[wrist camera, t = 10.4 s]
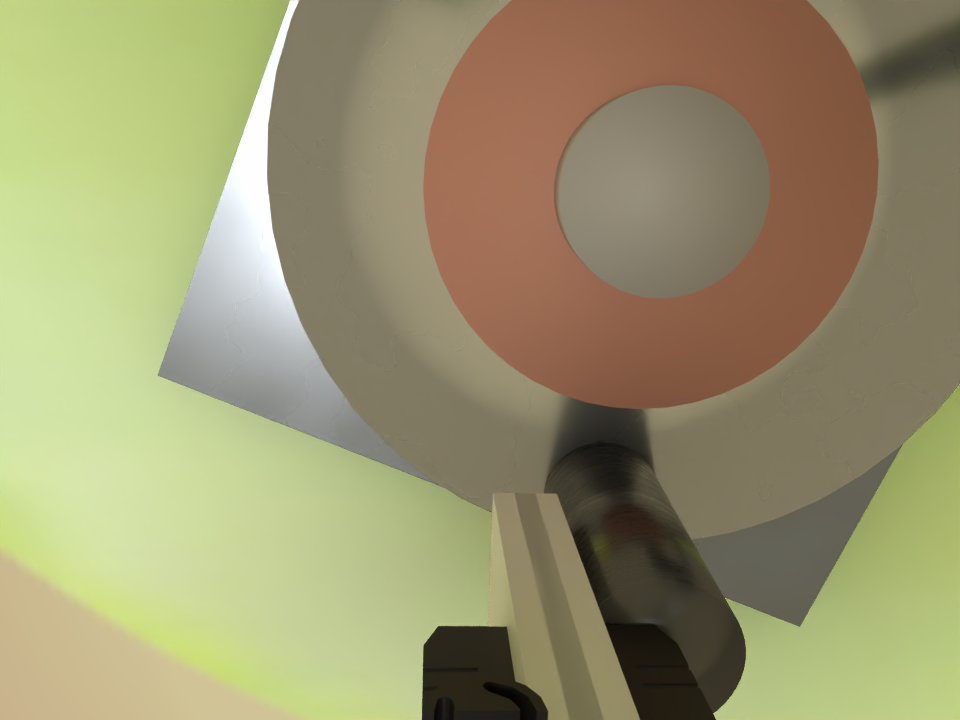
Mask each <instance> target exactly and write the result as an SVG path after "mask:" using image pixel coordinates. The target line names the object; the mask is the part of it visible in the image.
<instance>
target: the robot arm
mask: <svg viewBox="0 0 960 720" xmlns="http://www.w3.org/2000/svg"><path fill="white" fill-rule="evenodd" d="M422 720H716V719H715V717H714V715H713V713H712V711H711V709H710V707H709V705H708V703H707V701H706V699H705V697H704V695H703V693H702V691H701V689H700V688H698V683H697V681H696V679H695V677H694V675H693V673H692V671H691V670H689V665H688V663H687V661H686V659H685V657H684V655H683V653H682V651H681V649H680V647H679V645H678V643H676V642H675V641H674V640H673V639H671V638H670V637H669V636H668V635H666V634H665V633H664V632H663V631H661V630H660V629H659V628H658V627H657V626H655V625H605V623H604V620H603V618H602V615H601V612H600V610H599V607H598V604H597V602H596V599H595V596H594V593H593V591H592V588H591V585H590V583H589V580H588V577H587V574H586V572H585V569H584V566H583V564H582V561H581V558H580V555H579V553H578V550H577V547H576V545H575V542H574V539H573V536H572V534H571V531H570V528H569V526H568V523H567V520H566V517H565V515H564V512H563V509H562V507H561V504H560V501H559V499H558V496H557V494H545V493H493V505H492V531H491V557H490V583H489V609H488V626H438V627H437V629H436V630H435V631H434V633H433V634H432V635H431V636H430V638H429V639H428V640H427V642H426V643H425V644H424V651H423V698H422Z"/></svg>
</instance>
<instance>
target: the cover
mask: <svg viewBox="0 0 960 720" xmlns="http://www.w3.org/2000/svg"><path fill="white" fill-rule="evenodd" d="M878 167H879V159H878V147H877V134H876V128H875V124H874V119H873V114H872V110H871V105H870V101H869V98H868V96H867V93H866V90H865V87H864V84H863V82H862V79H861V76H860V73H859V72H858V70H857V68H856V66H855V64H854V62H853V60H852V58H851V56H850V54H849V52H848V51H847V49H846V47H845V45H844V44H843V43H842V41H841V40H840V38H839V37H838V36H837V34H836V33H835V31H834V30H833V29H832V27H831V26H830V24H829V23H828V22H827V21H826V20H825V19H824V17H823V16H822V15H821V14H820V13H819V12H818V11H817V10H816V9H815V8H814V7H813V6H812V5H811V4H810V3H809V2H808V1H807V0H511V1H510V2H509V3H508V4H507V5H506V6H505V7H504V8H502V9H501V10H500V11H499V12H498V13H497V14H496V15H495V16H494V17H493V18H492V19H491V20H490V21H489V22H488V23H487V25H486V26H485V27H484V28H483V29H482V30H481V32H480V33H479V34H478V35H477V36H476V38H475V39H474V40H473V41H472V42H471V44H470V45H469V47H468V48H467V50H466V52H465V53H464V55H463V56H462V58H461V59H460V61H459V62H458V64H457V66H456V67H455V69H454V71H453V73H452V75H451V77H450V79H449V81H448V83H447V85H446V87H445V90H444V92H443V94H442V96H441V98H440V101H439V104H438V107H437V110H436V113H435V116H434V119H433V122H432V126H431V129H430V134H429V140H428V145H427V150H426V156H425V166H424V183H423V193H424V208H425V220H426V225H427V230H428V235H429V240H430V245H431V249H432V252H433V255H434V258H435V261H436V264H437V267H438V270H439V272H440V275H441V278H442V280H443V282H444V284H445V286H446V288H447V290H448V292H449V294H450V296H451V298H452V300H453V302H454V303H455V305H456V306H457V308H458V309H459V311H460V312H461V314H462V315H463V317H464V318H465V320H466V321H467V323H468V324H469V326H470V327H471V328H472V329H473V330H474V331H475V332H476V334H477V335H478V336H479V337H480V338H481V339H482V340H483V342H484V343H485V344H486V345H487V346H488V347H489V348H490V349H491V350H492V351H494V352H495V353H496V354H497V355H498V356H499V357H500V358H502V359H503V360H504V361H505V362H506V363H507V364H508V365H510V366H511V367H513V368H514V369H516V370H517V371H519V372H520V373H522V374H523V375H525V376H526V377H528V378H529V379H531V380H532V381H534V382H536V383H538V384H540V385H542V386H544V387H547V388H549V389H551V390H553V391H555V392H557V393H559V394H562V395H565V396H568V397H571V398H574V399H577V400H580V401H583V402H587V403H593V404H598V405H603V406H608V407H615V408H630V409H650V408H667V407H673V406H678V405H684V404H689V403H694V402H698V401H701V400H704V399H707V398H711V397H714V396H717V395H720V394H723V393H725V392H727V391H730V390H732V389H734V388H736V387H738V386H741V385H743V384H745V383H747V382H749V381H751V380H752V379H754V378H756V377H757V376H759V375H761V374H762V373H764V372H766V371H767V370H769V369H770V368H772V367H774V366H775V365H776V364H777V363H779V362H780V361H781V360H782V359H784V358H785V357H786V356H788V355H789V354H790V353H791V352H793V351H794V350H795V349H796V348H797V347H798V346H799V345H800V344H801V343H802V342H803V341H804V340H805V339H806V338H807V337H808V336H809V335H810V334H811V333H812V332H813V331H814V330H815V329H816V328H817V327H818V326H819V325H820V323H821V322H822V321H823V319H824V318H825V317H826V316H827V314H828V313H829V312H830V311H831V309H832V308H833V307H834V305H835V304H836V302H837V301H838V299H839V297H840V296H841V294H842V292H843V291H844V289H845V287H846V286H847V284H848V283H849V281H850V279H851V277H852V275H853V273H854V270H855V268H856V266H857V264H858V262H859V259H860V257H861V255H862V253H863V250H864V247H865V243H866V240H867V237H868V234H869V231H870V227H871V224H872V220H873V214H874V208H875V203H876V197H877V188H878Z"/></svg>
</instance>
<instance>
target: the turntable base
mask: <svg viewBox="0 0 960 720" xmlns="http://www.w3.org/2000/svg"><path fill="white" fill-rule="evenodd" d="M298 2H299V0H290V3H289V5H288V8H287V11H286V14H285V17H284V20H283V22H282V25H281V28H280V31H279V34H278V36H277V39H276V42H275V45H274V48H273V51H272V53H271V56H270V59H269V62H268V65H267V68H266V70H265V73H264V76H263V79H262V82H261V85H260V87H259V90H258V93H257V96H256V99H255V102H254V104H253V107H252V110H251V113H250V116H249V119H248V121H247V124H246V127H245V130H244V133H243V136H242V138H241V141H240V144H239V147H238V150H237V153H236V155H235V158H234V161H233V164H232V167H231V169H230V172H229V175H228V178H227V181H226V184H225V186H224V189H223V192H222V195H221V198H220V201H219V203H218V206H217V209H216V212H215V215H214V218H213V220H212V223H211V226H210V229H209V232H208V235H207V237H206V240H205V243H204V246H203V249H202V252H201V254H200V257H199V260H198V263H197V266H196V269H195V271H194V274H193V277H192V280H191V283H190V286H189V288H188V291H187V294H186V297H185V300H184V303H183V305H182V308H181V311H180V314H179V317H178V319H177V322H176V325H175V328H174V331H173V334H172V336H171V339H170V342H169V345H168V348H167V351H166V353H165V356H164V359H163V362H162V365H161V368H160V370H159V373H158V376H160V377H163V378H165V379H168V380H171V381H173V382H176V383H178V384H181V385H183V386H186V387H188V388H191V389H194V390H196V391H199V392H201V393H204V394H206V395H209V396H211V397H214V398H217V399H219V400H222V401H224V402H227V403H229V404H232V405H234V406H237V407H240V408H242V409H245V410H247V411H250V412H252V413H255V414H257V415H260V416H263V417H265V418H268V419H270V420H273V421H275V422H278V423H280V424H283V425H286V426H288V427H291V428H293V429H296V430H298V431H301V432H303V433H306V434H309V435H311V436H314V437H316V438H319V439H321V440H324V441H326V442H329V443H332V444H334V445H337V446H339V447H342V448H344V449H347V450H349V451H352V452H355V453H357V454H360V455H362V456H365V457H367V458H370V459H372V460H375V461H378V462H380V463H383V464H385V465H388V466H390V467H393V468H395V469H398V470H401V471H403V472H406V473H408V474H411V475H413V476H416V477H418V478H421V479H424V480H426V481H429V482H431V483H434V484H436V485H439V486H441V485H440V484H438V483H437V482H435V481H433V480H432V479H430V478H429V477H427V476H425V475H424V474H422V473H421V472H420V471H419V470H417V469H416V468H415V467H414V466H413V465H411V464H410V463H409V462H408V461H407V460H405V459H404V458H403V457H402V456H401V455H399V454H398V453H397V452H396V451H394V450H393V449H392V448H391V447H390V446H388V445H387V444H386V443H385V442H384V441H383V440H382V439H381V438H380V436H379V435H378V434H377V433H376V432H375V431H374V430H373V429H372V428H371V427H370V426H369V425H368V424H367V423H366V422H365V420H364V419H363V418H362V417H361V416H360V415H359V414H358V413H357V412H356V411H355V410H354V409H353V407H352V406H351V404H350V403H349V402H348V400H347V399H346V397H345V396H344V395H343V393H342V392H341V390H340V389H339V388H338V386H337V385H336V384H335V382H334V381H333V379H332V378H331V377H330V375H329V374H328V372H327V371H326V370H325V368H324V366H323V364H322V362H321V360H320V358H319V357H318V355H317V353H316V351H315V349H314V347H313V345H312V344H311V342H310V340H309V338H308V336H307V334H306V332H305V331H304V329H303V327H302V324H301V322H300V319H299V317H298V314H297V311H296V309H295V306H294V304H293V301H292V298H291V296H290V293H289V291H288V288H287V285H286V283H285V280H284V276H283V272H282V268H281V264H280V259H279V255H278V251H277V247H276V243H275V239H274V235H273V230H272V221H271V212H270V203H269V194H268V185H267V145H268V121H269V115H270V108H271V101H272V95H273V88H274V81H275V75H276V70H277V66H278V63H279V59H280V56H281V52H282V49H283V45H284V42H285V38H286V35H287V31H288V28H289V24H290V21H291V18H292V15H293V13H294V11H295V8H296V6H297V4H298ZM901 446H902V445H901ZM901 446H900V447H898V448H897V449H896V450H895V451H893V452H892V453H891V454H889V455H888V456H887V457H885V458H884V459H883V460H881V461H880V462H879V463H877V464H876V465H875V466H873V467H872V468H871V469H869V470H868V471H867V472H865V473H864V474H863V475H861V476H860V477H858V478H856V479H854V480H853V481H851V482H849V483H848V484H846V485H844V486H842V487H841V488H839V489H837V490H836V491H834V492H832V493H831V494H829V495H827V496H825V497H824V498H822V499H820V500H818V501H816V502H814V503H811V504H809V505H807V506H805V507H802V508H800V509H798V510H795V511H793V512H791V513H789V514H786V515H784V516H782V517H779V518H777V519H774V520H771V521H768V522H764V523H761V524H758V525H755V526H751V527H748V528H745V529H741V530H738V531H735V532H732V533H726V534H721V535H715V536H710V537H704V538H698V539H693V540H692V541H693V543H694V545H695V546H696V548H697V550H698V552H699V554H700V555H701V557H702V559H703V561H704V562H705V564H706V566H707V568H708V569H709V571H710V573H711V575H712V576H713V578H714V580H715V582H716V584H717V585H718V587H719V589H720V591H721V592H722V594H723V596H724V597H725V598H728V599H730V600H733V601H735V602H738V603H741V604H743V605H746V606H748V607H751V608H753V609H756V610H758V611H761V612H764V613H766V614H769V615H771V616H774V617H776V618H779V619H781V620H784V621H787V622H789V623H792V624H794V625H797V626H799V627H800V625H801V624H802V622H803V620H804V618H805V617H806V615H807V613H808V611H809V609H810V608H811V606H812V604H813V602H814V601H815V599H816V597H817V595H818V593H819V592H820V590H821V588H822V586H823V585H824V583H825V581H826V579H827V577H828V576H829V574H830V572H831V570H832V569H833V567H834V565H835V563H836V562H837V560H838V558H839V556H840V554H841V553H842V551H843V549H844V547H845V546H846V544H847V542H848V540H849V538H850V537H851V535H852V533H853V531H854V530H855V528H856V526H857V524H858V522H859V521H860V519H861V517H862V515H863V514H864V512H865V510H866V508H867V507H868V505H869V503H870V501H871V499H872V498H873V496H874V494H875V492H876V491H877V489H878V487H879V485H880V483H881V482H882V480H883V478H884V476H885V475H886V473H887V471H888V469H889V467H890V466H891V464H892V462H893V460H894V459H895V457H896V455H897V453H898V452H899V450H900V448H901ZM441 487H443V486H441Z"/></svg>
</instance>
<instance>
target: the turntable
mask: <svg viewBox="0 0 960 720" xmlns="http://www.w3.org/2000/svg"><path fill="white" fill-rule="evenodd" d="M510 1H511V0H299V2H298V4H297V6H296V8H295V11H294V13H293V15H292V18H291V21H290V24H289V28H288V31H287V35H286V38H285V42H284V45H283V49H282V52H281V56H280V59H279V63H278V66H277V70H276V75H275V81H274V88H273V95H272V101H271V108H270V115H269V121H268V145H267V185H268V194H269V203H270V212H271V221H272V230H273V235H274V239H275V243H276V247H277V251H278V255H279V259H280V264H281V268H282V272H283V276H284V280H285V283H286V285H287V288H288V291H289V293H290V296H291V298H292V301H293V304H294V306H295V309H296V311H297V314H298V317H299V319H300V322H301V324H302V327H303V329H304V331H305V332H306V334H307V336H308V338H309V340H310V342H311V344H312V345H313V347H314V349H315V351H316V353H317V355H318V357H319V358H320V360H321V362H322V364H323V366H324V368H325V370H326V371H327V372H328V374H329V375H330V377H331V378H332V379H333V381H334V382H335V384H336V385H337V386H338V388H339V389H340V390H341V392H342V393H343V395H344V396H345V397H346V399H347V400H348V402H349V403H350V404H351V406H352V407H353V409H354V410H355V411H356V412H357V413H358V414H359V415H360V416H361V417H362V418H363V419H364V420H365V422H366V423H367V424H368V425H369V426H370V427H371V428H372V429H373V430H374V431H375V432H376V433H377V434H378V435H379V436H380V438H381V439H382V440H383V441H384V442H385V443H386V444H387V445H388V446H390V447H391V448H392V449H393V450H394V451H396V452H397V453H398V454H399V455H401V456H402V457H403V458H404V459H405V460H407V461H408V462H409V463H410V464H411V465H413V466H414V467H415V468H416V469H417V470H419V471H420V472H421V473H422V474H424V475H425V476H427V477H429V478H430V479H432V480H433V481H435V482H437V483H438V484H440V485H441V486H443V487H444V488H446V489H448V490H449V491H451V492H452V493H454V494H456V495H457V496H459V497H460V498H462V499H464V500H466V501H468V502H470V503H473V504H475V505H477V506H479V507H481V508H483V509H485V510H488V511H490V512H492V505H493V493H545V494H557V496H558V499H559V501H560V504H561V507H562V509H563V512H564V515H565V517H566V520H567V523H568V526H569V528H570V531H571V534H572V536H573V539H574V542H575V545H576V547H577V550H578V553H579V555H580V558H581V561H582V564H583V566H584V569H585V572H586V574H587V577H588V580H589V583H590V585H591V588H592V591H593V593H594V596H595V599H596V602H597V604H598V607H599V610H600V612H601V615H602V618H603V620H604V623H605V625H655V626H657V627H658V628H659V629H660V630H661V631H663V632H664V633H665V634H666V635H668V636H669V637H670V638H671V639H673V640H674V641H675V642H676V643H678V645H679V647H680V649H681V651H682V653H683V655H684V657H685V659H686V661H687V663H688V665H689V670H691V671H692V673H693V675H694V677H695V679H696V681H697V683H698V688H700V689H701V691H702V693H703V695H704V697H705V699H706V701H707V703H708V705H709V707H710V709H711V711H712V713H714V712H716V711H717V710H718V709H719V708H720V707H721V706H722V705H723V704H724V703H725V702H726V701H727V700H728V699H729V698H730V696H731V695H732V694H733V692H734V690H735V689H736V687H737V685H738V683H739V681H740V679H741V676H742V673H743V670H744V665H745V659H746V647H745V639H744V636H743V632H742V629H741V627H740V625H739V623H738V621H737V619H736V617H735V615H734V614H733V612H732V610H731V608H730V607H729V605H728V603H727V601H726V599H725V598H724V596H723V594H722V592H721V591H720V589H719V587H718V585H717V584H716V582H715V580H714V578H713V576H712V575H711V573H710V571H709V569H708V568H707V566H706V564H705V562H704V561H703V559H702V557H701V555H700V554H699V552H698V550H697V548H696V546H695V545H694V543H693V541H692V540H693V539H698V538H704V537H710V536H715V535H721V534H726V533H732V532H735V531H738V530H741V529H745V528H748V527H751V526H755V525H758V524H761V523H764V522H768V521H771V520H774V519H777V518H779V517H782V516H784V515H786V514H789V513H791V512H793V511H795V510H798V509H800V508H802V507H805V506H807V505H809V504H811V503H814V502H816V501H818V500H820V499H822V498H824V497H825V496H827V495H829V494H831V493H832V492H834V491H836V490H837V489H839V488H841V487H842V486H844V485H846V484H848V483H849V482H851V481H853V480H854V479H856V478H858V477H860V476H861V475H863V474H864V473H865V472H867V471H868V470H869V469H871V468H872V467H873V466H875V465H876V464H877V463H879V462H880V461H881V460H883V459H884V458H885V457H887V456H888V455H889V454H891V453H892V452H893V451H895V450H896V449H897V448H898V447H900V446H901V445H902V444H903V443H904V442H905V441H906V440H907V439H908V438H909V437H910V436H911V435H912V434H914V433H915V432H916V431H917V430H918V429H919V428H920V427H921V426H922V425H923V424H924V423H925V422H926V421H927V420H928V419H929V418H930V417H931V416H932V415H933V414H935V413H936V411H937V410H938V409H939V408H940V407H941V405H942V404H943V403H944V402H945V401H946V399H947V398H948V397H949V396H950V395H951V393H952V392H953V391H954V390H955V389H956V387H957V386H958V385H959V384H960V0H807V1H808V2H809V3H810V4H811V5H812V6H813V7H814V8H815V9H816V10H817V11H818V12H819V13H820V14H821V15H822V16H823V17H824V19H825V20H826V21H827V22H828V23H829V24H830V26H831V27H832V29H833V30H834V31H835V33H836V34H837V36H838V37H839V38H840V40H841V41H842V43H843V44H844V45H845V47H846V49H847V51H848V52H849V54H850V56H851V58H852V60H853V62H854V64H855V66H856V68H857V70H858V72H859V73H860V76H861V79H862V82H863V84H864V87H865V90H866V93H867V96H868V98H869V101H870V105H871V110H872V114H873V119H874V124H875V128H876V134H877V147H878V159H879V167H878V188H877V197H876V203H875V208H874V214H873V220H872V224H871V227H870V231H869V234H868V237H867V240H866V243H865V247H864V250H863V253H862V255H861V257H860V259H859V262H858V264H857V266H856V268H855V270H854V273H853V275H852V277H851V279H850V281H849V283H848V284H847V286H846V287H845V289H844V291H843V292H842V294H841V296H840V297H839V299H838V301H837V302H836V304H835V305H834V307H833V308H832V309H831V311H830V312H829V313H828V314H827V316H826V317H825V318H824V319H823V321H822V322H821V323H820V325H819V326H818V327H817V328H816V329H815V330H814V331H813V332H812V333H811V334H810V335H809V336H808V337H807V338H806V339H805V340H804V341H803V342H802V343H801V344H800V345H799V346H798V347H797V348H796V349H795V350H794V351H793V352H791V353H790V354H789V355H788V356H786V357H785V358H784V359H782V360H781V361H780V362H779V363H777V364H776V365H775V366H774V367H772V368H770V369H769V370H767V371H766V372H764V373H762V374H761V375H759V376H757V377H756V378H754V379H752V380H751V381H749V382H747V383H745V384H743V385H741V386H738V387H736V388H734V389H732V390H730V391H727V392H725V393H723V394H720V395H717V396H714V397H711V398H707V399H704V400H701V401H698V402H694V403H689V404H684V405H678V406H673V407H667V408H650V409H630V408H615V407H608V406H603V405H598V404H593V403H587V402H583V401H580V400H577V399H574V398H571V397H568V396H565V395H562V394H559V393H557V392H555V391H553V390H551V389H549V388H547V387H544V386H542V385H540V384H538V383H536V382H534V381H532V380H531V379H529V378H528V377H526V376H525V375H523V374H522V373H520V372H519V371H517V370H516V369H514V368H513V367H511V366H510V365H508V364H507V363H506V362H505V361H504V360H503V359H502V358H500V357H499V356H498V355H497V354H496V353H495V352H494V351H492V350H491V349H490V348H489V347H488V346H487V345H486V344H485V343H484V342H483V340H482V339H481V338H480V337H479V336H478V335H477V334H476V332H475V331H474V330H473V329H472V328H471V327H470V326H469V324H468V323H467V321H466V320H465V318H464V317H463V315H462V314H461V312H460V311H459V309H458V308H457V306H456V305H455V303H454V302H453V300H452V298H451V296H450V294H449V292H448V290H447V288H446V286H445V284H444V282H443V280H442V278H441V275H440V272H439V270H438V267H437V264H436V261H435V258H434V255H433V252H432V249H431V245H430V240H429V235H428V230H427V225H426V220H425V208H424V193H423V183H424V166H425V156H426V150H427V145H428V140H429V134H430V129H431V126H432V122H433V119H434V116H435V113H436V110H437V107H438V104H439V101H440V98H441V96H442V94H443V92H444V90H445V87H446V85H447V83H448V81H449V79H450V77H451V75H452V73H453V71H454V69H455V67H456V66H457V64H458V62H459V61H460V59H461V58H462V56H463V55H464V53H465V52H466V50H467V48H468V47H469V45H470V44H471V42H472V41H473V40H474V39H475V38H476V36H477V35H478V34H479V33H480V32H481V30H482V29H483V28H484V27H485V26H486V25H487V23H488V22H489V21H490V20H491V19H492V18H493V17H494V16H495V15H496V14H497V13H498V12H499V11H500V10H501V9H502V8H504V7H505V6H506V5H507V4H508V3H509V2H510Z"/></svg>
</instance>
